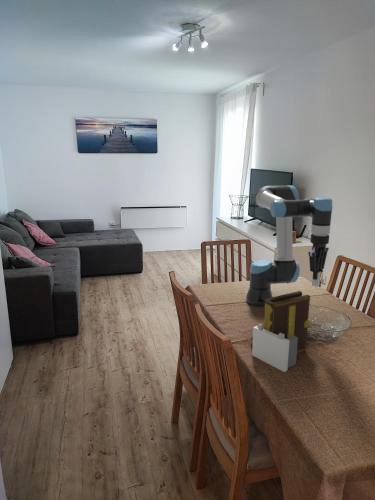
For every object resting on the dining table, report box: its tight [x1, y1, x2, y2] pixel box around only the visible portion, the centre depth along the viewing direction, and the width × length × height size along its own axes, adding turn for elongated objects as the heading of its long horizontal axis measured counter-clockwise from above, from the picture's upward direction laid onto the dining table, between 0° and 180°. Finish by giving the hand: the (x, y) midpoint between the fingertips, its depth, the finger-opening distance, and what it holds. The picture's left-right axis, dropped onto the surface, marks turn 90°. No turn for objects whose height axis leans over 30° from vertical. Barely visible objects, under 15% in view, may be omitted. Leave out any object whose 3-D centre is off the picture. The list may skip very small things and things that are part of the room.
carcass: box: [251, 323, 298, 373], centre depth 148 cm, size 8×16×15 cm, turn 40°
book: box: [263, 290, 312, 354], centre depth 152 cm, size 22×8×25 cm, turn 116°
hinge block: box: [250, 334, 253, 346], centre depth 162 cm, size 4×4×4 cm
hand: (315, 285), depth 163 cm, fingers closed
